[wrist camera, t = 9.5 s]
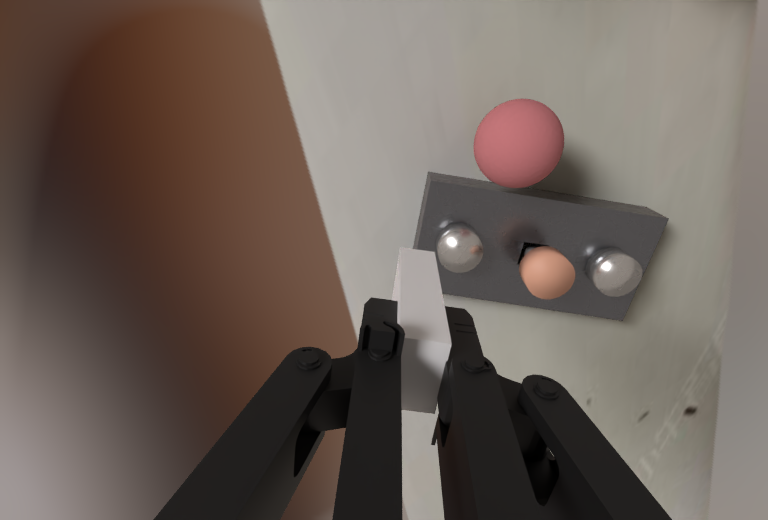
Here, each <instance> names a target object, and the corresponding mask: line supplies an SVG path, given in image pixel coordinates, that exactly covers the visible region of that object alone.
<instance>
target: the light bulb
mask: <svg viewBox="0 0 768 520" xmlns="http://www.w3.org/2000/svg"><path fill="white" fill-rule="evenodd" d="M563 147H564V133H563V128H562V125H561V123H560V120H559V119H558V117H557V116H556V114H555V113H554V112H553V111H552V110H551V109H550V108H548V107H547V106H546V105H544V104H542V103H540V102H537V101H534V100H531V99H515V100H510V101H507V102H505V103H502V104H500V105H499V106H497V107H495V108H494V109H493V110H491V111H490V112H489V113H488V114H487V115H486V116H485V118H484V119H483V120H482V122H481V123H480V125H479V126H478V129H477V132H476V135H475V139H474V155H475V159H476V162H477V164H478V166H479V168H480V170H481V171H482V173H483V174H484V175H485V176H486V177H487V178H488V179H489V180H491V181H492V182H494V183H496V184H498V185H500V186H503V187H508V188H523V187H527V186H530V185H533V184H535V183H537V182H539V181H541V180H542V179H544V178H545V177H546V176H548V175H549V174H550V173H551V172H552V170H553V169H554V168H555V167H556V165H557V164H558V162H559V160H560V158H561V155H562V151H563Z"/></svg>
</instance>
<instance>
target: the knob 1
mask: <svg viewBox="0 0 768 520" xmlns="http://www.w3.org/2000/svg"><path fill="white" fill-rule="evenodd" d="M436 248H437V253H438V257H439V260H440V262H441V264H442V265H443V266H444V267H445V268H446V269H447V270H449V271H452V272H456V273H463V272H467V271H470V270H472V269H473V268H475V267H476V266H477V265H478V264H479V263H480V261H481V259H482V257H483V245H482V243H481V241H480V239H479V237H478V235H477V233H476V231H475V230H474V229H473V228H472V227H471V226H469V225H467V224H463V223H454V224H451V225H448V226H446V227H445V228H444V229H443V230H442V231H441V232H440V233H439V235H438V237H437V240H436Z"/></svg>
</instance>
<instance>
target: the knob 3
mask: <svg viewBox="0 0 768 520" xmlns="http://www.w3.org/2000/svg"><path fill="white" fill-rule="evenodd" d="M586 275H587V277H588V279H589V280H590V281H591V282H592V283H593V284H594V285H595V286H596V287H597V288H598V289H599V290H600V291H601V292H602V293H603V294H605V295H607V296H612V297H617V296H622V295H625V294H627V293H629V292H631V291H632V290H634V289H635V288H636V287H637V285H638V284H639V282H640V281H641V278H642V268H641V265H640V264H639V263H638V262H637V261H636V260H635V259H633V258H632V257H631V256H630V255H628V254H627V253H626V252H624V251H623V250H621V249H619V248H615V247H608V248H604V249H601V250H599V251H597V252H596V253H595V254H593V255H592V256H591V258H590V259H589V260H588V262H587V265H586Z"/></svg>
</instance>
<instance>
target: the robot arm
mask: <svg viewBox="0 0 768 520" xmlns="http://www.w3.org/2000/svg"><path fill="white" fill-rule="evenodd" d="M437 402H438V409H439V414H438V418H437V422H436V426H435V430H434V434H433V438H432V444H431V445H435V443H436V439H437V445H438V455H439V466H440V476H441V487H442V497H443V508H444V518H445V520H672V519H671V518H670V517H669V515H668V514H667V513H666V512H665V510H664V509H663V508H662V507H661V505H660V504H659V503H658V502H657V501H656V499H655V498H654V497H653V496H652V494H651V493H650V492H649V491H648V490H647V488H646V487H645V486H644V485H643V483H642V482H641V481H640V480H639V478H638V477H637V476H636V475H635V474H634V472H633V471H632V470H631V469H630V467H629V466H628V465H627V464H626V463H625V461H624V460H623V459H622V458H621V456H620V455H619V454H618V453H617V451H616V450H615V449H614V448H613V447H612V445H611V444H610V443H609V442H608V440H607V439H606V438H605V437H604V436H603V434H602V433H601V432H600V431H599V429H598V428H597V427H596V426H595V424H594V423H593V422H592V421H591V420H590V418H589V417H588V416H587V415H586V413H585V412H584V411H583V410H582V409H581V407H580V406H579V405H578V404H577V402H576V401H575V400H574V399H573V397H572V396H571V395H570V394H569V393H568V391H567V390H566V389H565V388H564V387H563V386H562V385H561V384H560V383H558V382H556V381H555V380H553V379H551V378H548V377H545V376H542V375H530V376H527V377H526V378H524V379H523V382H522V384H521V383H518V382H515V381H512V380H509V379H507V378H504V377H502V376H500V375H498V374H497V372H496V369H495V367H494V365H493V364H492V362H490V361H489V360H488V359H487V358H485V357H484V356H483V353H482V349H481V346H480V342H479V339H478V335H477V332H476V328H475V325H474V321H473V318H472V316H471V315H470V314H469V313H468V312H467V311H466V310H465V309H461V308H454V307H446V306H445V305H444V300H443V294H442V289H441V283H440V278H439V273H438V267H437V262H436V256H435V252H432V251H425V250H417V249H410V248H402V247H400V252H399V259H398V265H397V271H396V277H395V284H394V290H393V296H392V300H386V299H378V298H370V299H369V300H368V301H367V302H366V303H365V305H364V312H363V319H362V325H361V328H360V334H359V341H358V348H357V349H356V350H355V352H354V353H352V354H350V355H348V356H346V357H343V358H336V359H331V357H330V355H328V353H327V352H326V351H323V350H321V349H319V348H314V347H302V348H299V349H296V350H293V351H292V352H291V353H289V354H288V355H287V356H286V357H285V359H284V360H283V361H282V362H281V364H280V365H279V366H278V367H277V369H276V370H275V371H274V372H273V373H272V375H271V376H270V377H269V378H268V380H267V381H266V382H265V383H264V385H263V386H262V387H261V388H260V389H259V391H258V392H257V393H256V394H255V396H254V397H253V398H252V399H251V400H250V402H249V403H248V404H247V405H246V407H245V408H244V409H243V411H242V412H241V413H240V414H239V415H238V416H237V418H236V419H235V420H234V422H233V423H232V424H231V425H230V426H229V428H228V429H227V430H226V431H225V433H224V434H223V435H222V436H221V437H220V439H219V440H218V441H217V442H216V444H215V445H214V446H213V447H212V449H211V450H210V451H209V452H208V454H207V455H206V456H205V457H204V458H203V460H202V461H201V462H200V463H199V464H198V466H197V467H196V468H195V469H194V471H193V472H192V473H191V474H190V475H189V477H188V478H187V479H186V480H185V482H184V483H183V484H182V485H181V487H180V488H179V489H178V490H177V492H176V493H175V494H174V495H173V496H172V498H171V499H170V500H169V501H168V502H167V504H166V505H165V506H164V507H163V509H162V510H161V511H160V512H159V514H158V515H157V516H156V517H155V519H154V520H280V519H281V517H282V515H283V513H284V511H285V509H286V508H287V505H288V504H289V502H290V500H291V498H292V496H293V494H294V492H295V490H296V488H297V486H298V484H299V483H300V481H301V479H302V477H303V475H304V473H305V471H306V469H307V467H308V466H309V464H310V462H311V460H312V458H313V456H314V454H315V452H316V450H317V448H318V446H319V444H320V442H321V441H322V439H323V437H324V434H325V431H327V430H333V429H339V428H346V431H345V438H344V445H343V452H342V458H341V465H340V472H339V479H338V486H337V492H336V499H335V506H334V513H333V520H402V416H401V410H409V411H417V412H425V413H433V414H435V410H436V406H437ZM549 449H550V450H549ZM550 451H551V452H552V453H551V452H550ZM552 454H553V455H554V456H553V455H552Z"/></svg>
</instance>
